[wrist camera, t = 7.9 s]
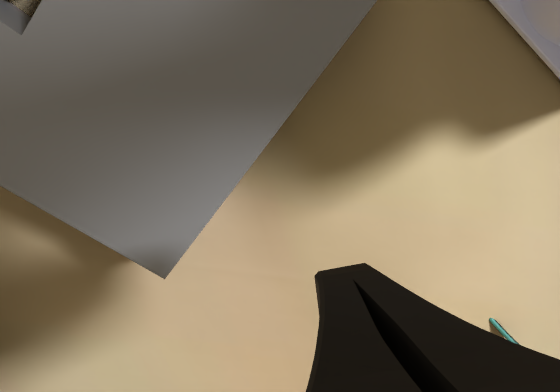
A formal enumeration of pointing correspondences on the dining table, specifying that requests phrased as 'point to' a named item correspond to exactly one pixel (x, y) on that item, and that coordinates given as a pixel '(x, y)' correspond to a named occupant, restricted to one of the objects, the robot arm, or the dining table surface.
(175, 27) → the deck
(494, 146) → the dining table surface
